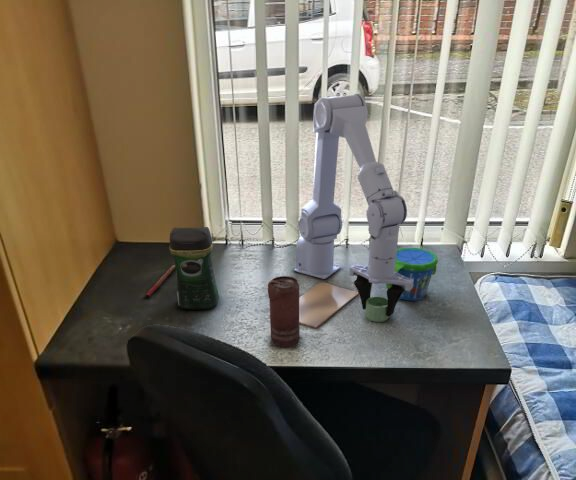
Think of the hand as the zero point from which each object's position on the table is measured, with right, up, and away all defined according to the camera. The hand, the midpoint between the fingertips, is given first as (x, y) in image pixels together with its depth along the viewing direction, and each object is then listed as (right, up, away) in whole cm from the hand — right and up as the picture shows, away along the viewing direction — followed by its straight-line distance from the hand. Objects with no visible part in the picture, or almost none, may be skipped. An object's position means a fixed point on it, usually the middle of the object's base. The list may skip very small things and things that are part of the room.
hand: (377, 310), depth 129 cm
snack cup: (+9, +5, +10) cm, 14 cm away
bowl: (0, -1, +1) cm, 2 cm away
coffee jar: (-42, +3, +8) cm, 43 cm away
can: (-21, -8, -7) cm, 23 cm away
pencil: (-53, +10, +18) cm, 56 cm away
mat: (-13, +2, +6) cm, 15 cm away
